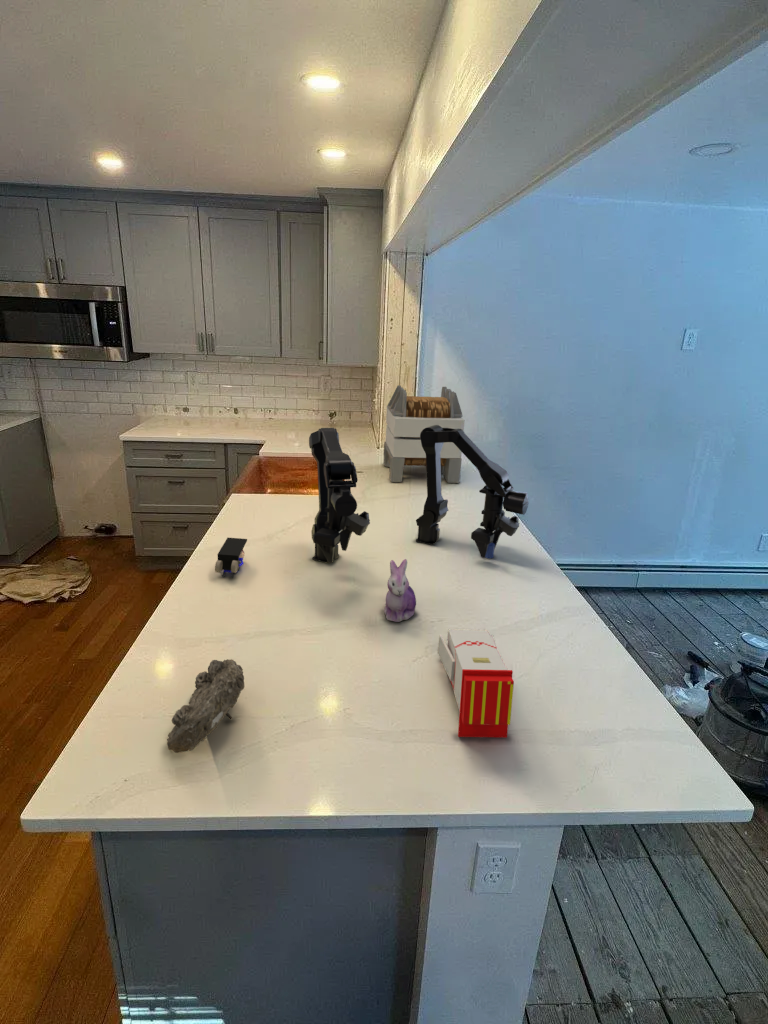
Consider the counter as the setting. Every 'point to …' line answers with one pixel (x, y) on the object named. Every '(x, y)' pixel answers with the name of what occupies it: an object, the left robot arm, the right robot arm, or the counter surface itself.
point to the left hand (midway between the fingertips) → (337, 556)
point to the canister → (490, 550)
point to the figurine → (399, 594)
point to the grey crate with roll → (406, 426)
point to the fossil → (206, 705)
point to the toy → (478, 682)
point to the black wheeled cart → (230, 556)
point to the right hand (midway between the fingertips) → (488, 552)
